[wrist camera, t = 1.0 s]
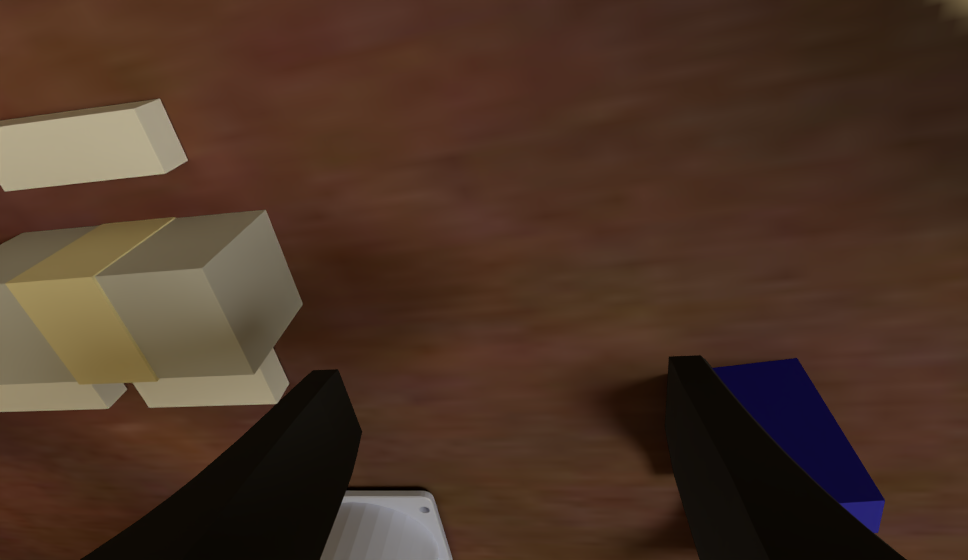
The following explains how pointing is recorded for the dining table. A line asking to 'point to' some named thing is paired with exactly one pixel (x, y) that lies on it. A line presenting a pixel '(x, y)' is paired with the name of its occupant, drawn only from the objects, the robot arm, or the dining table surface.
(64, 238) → the banded cream box
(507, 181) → the dining table surface
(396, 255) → the dining table surface
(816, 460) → the navy blue l-shaped piece
